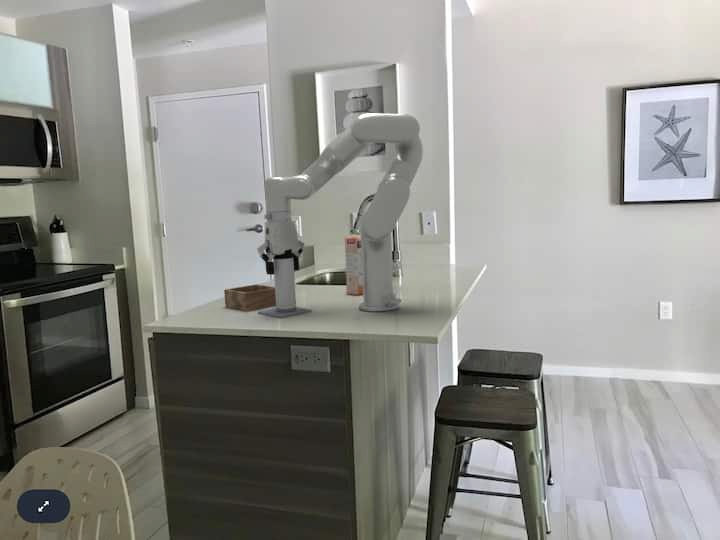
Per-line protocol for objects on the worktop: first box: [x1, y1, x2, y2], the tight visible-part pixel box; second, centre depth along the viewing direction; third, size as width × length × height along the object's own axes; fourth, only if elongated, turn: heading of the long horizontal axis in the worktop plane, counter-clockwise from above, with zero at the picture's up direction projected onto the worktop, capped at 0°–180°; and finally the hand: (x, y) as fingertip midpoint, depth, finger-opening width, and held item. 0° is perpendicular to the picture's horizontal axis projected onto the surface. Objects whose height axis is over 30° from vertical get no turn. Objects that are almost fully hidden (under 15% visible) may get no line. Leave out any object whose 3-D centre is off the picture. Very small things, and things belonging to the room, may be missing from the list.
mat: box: [257, 306, 313, 319], centre depth 183 cm, size 12×12×1 cm
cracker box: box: [344, 234, 363, 296], centre depth 212 cm, size 14×6×21 cm, turn 146°
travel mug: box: [272, 249, 297, 312], centre depth 181 cm, size 6×7×20 cm
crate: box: [224, 283, 276, 313], centre depth 195 cm, size 13×13×6 cm
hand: (283, 272), depth 181 cm, fingers open, 9 cm apart
